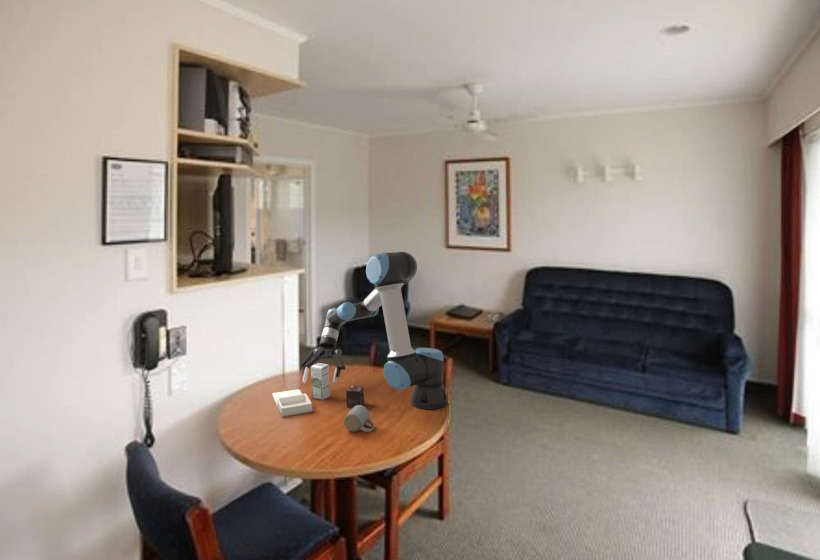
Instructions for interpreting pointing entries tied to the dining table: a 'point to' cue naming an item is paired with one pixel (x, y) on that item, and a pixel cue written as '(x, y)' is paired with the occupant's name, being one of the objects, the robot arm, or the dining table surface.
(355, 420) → the ceramic mug
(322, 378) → the syrup box
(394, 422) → the dining table surface
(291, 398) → the mailer
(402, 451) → the dining table surface
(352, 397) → the box
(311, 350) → the robot arm
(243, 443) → the dining table surface
